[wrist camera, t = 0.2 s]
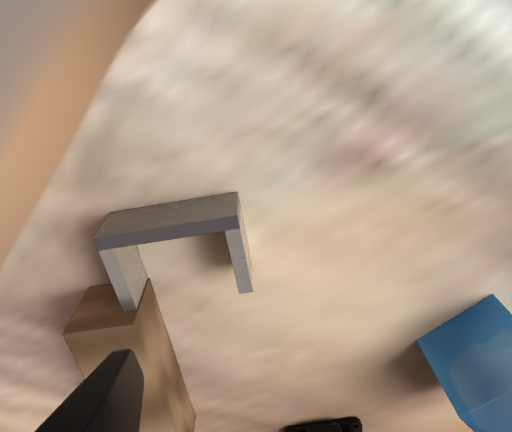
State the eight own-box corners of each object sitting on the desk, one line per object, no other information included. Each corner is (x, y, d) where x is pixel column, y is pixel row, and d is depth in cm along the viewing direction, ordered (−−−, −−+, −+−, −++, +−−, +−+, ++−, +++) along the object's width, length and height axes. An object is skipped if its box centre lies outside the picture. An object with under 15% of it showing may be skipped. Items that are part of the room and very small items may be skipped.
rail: (196, 413, 31) (189, 470, 27) (148, 419, 31) (135, 477, 27) (150, 276, 25) (133, 324, 21) (90, 284, 25) (62, 334, 21)
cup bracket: (251, 262, 24) (252, 291, 22) (135, 280, 25) (123, 311, 22) (237, 191, 22) (237, 215, 19) (110, 212, 22) (93, 238, 20)
